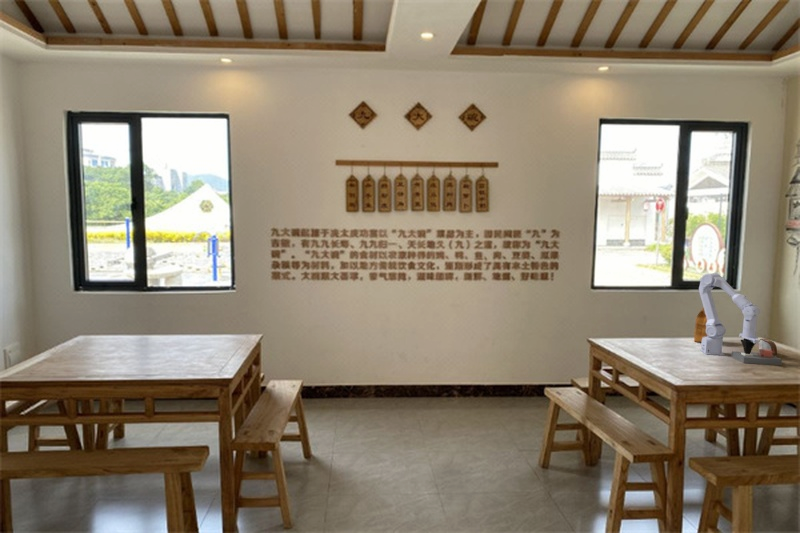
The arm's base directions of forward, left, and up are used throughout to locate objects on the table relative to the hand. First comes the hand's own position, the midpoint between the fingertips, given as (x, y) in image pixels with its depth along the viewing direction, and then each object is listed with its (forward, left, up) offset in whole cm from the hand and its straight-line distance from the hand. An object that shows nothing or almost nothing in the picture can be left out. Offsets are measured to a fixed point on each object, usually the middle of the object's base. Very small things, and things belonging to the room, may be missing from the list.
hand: (747, 353), depth 266 cm
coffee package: (-3, +39, -4) cm, 39 cm away
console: (+4, 0, -4) cm, 6 cm away
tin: (+17, +15, -4) cm, 23 cm away
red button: (+9, 0, -1) cm, 9 cm away
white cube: (0, 0, -4) cm, 4 cm away
